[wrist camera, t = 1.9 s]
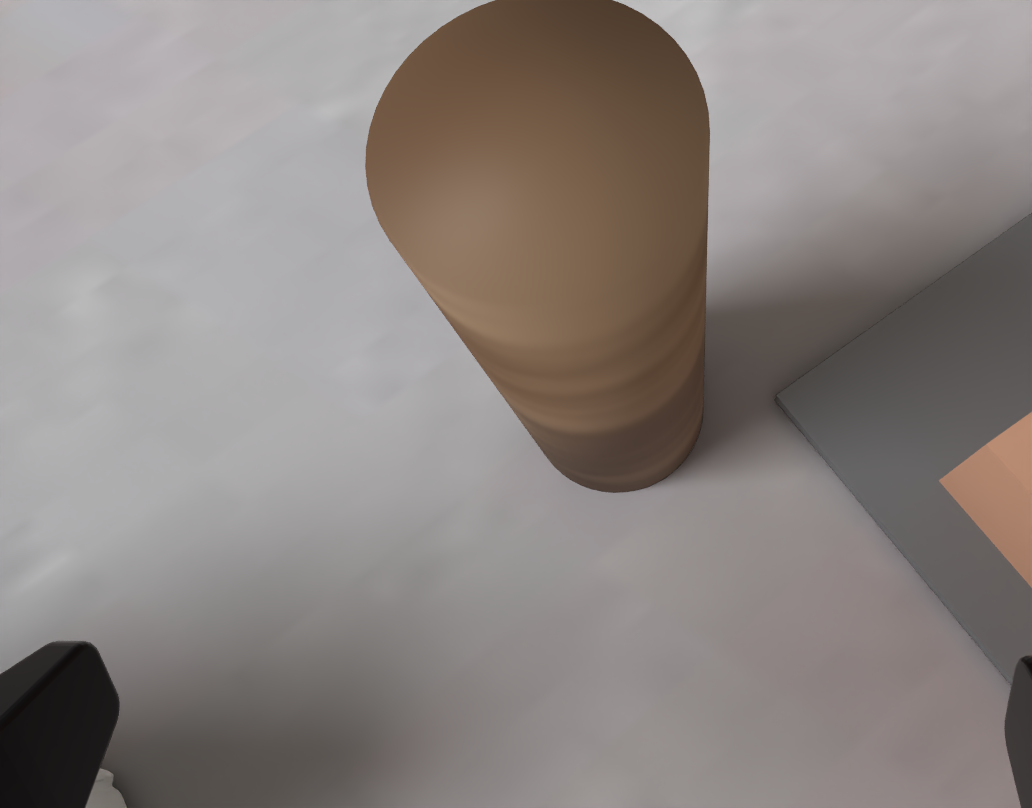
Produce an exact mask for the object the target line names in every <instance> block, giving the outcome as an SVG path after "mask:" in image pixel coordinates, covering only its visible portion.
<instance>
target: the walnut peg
mask: <svg viewBox="0 0 1032 808" xmlns="http://www.w3.org/2000/svg"><path fill="white" fill-rule="evenodd" d="M709 145H710V128H709V113H708V107H707V103H706V98H705V94H704V90H703V88H702V85H701V82H700V80H699V77H698V75H697V72H696V71H695V69H694V67H693V65H692V64H691V62H690V60H689V58H688V57H687V55H686V54H685V53H684V51H683V50H682V49H681V48H680V46H679V45H678V44H677V43H676V41H675V40H674V39H673V38H672V37H671V36H670V35H669V34H668V33H667V32H666V31H664V30H663V29H662V28H661V27H660V26H659V25H658V24H656V23H655V22H653V21H652V20H651V19H649V18H648V17H646V16H645V15H643V14H642V13H640V12H638V11H636V10H634V9H632V8H630V7H628V6H626V5H624V4H621V3H619V2H616V1H613V0H495V1H492V2H489V3H487V4H484V5H481V6H478V7H476V8H474V9H472V10H470V11H468V12H466V13H464V14H462V15H460V16H458V17H456V18H455V19H453V20H452V21H450V22H449V23H447V24H445V25H444V26H442V27H441V28H439V29H438V30H437V31H436V32H434V33H433V34H432V35H431V36H429V37H428V38H427V39H426V40H424V41H423V42H422V43H421V44H420V45H419V46H418V47H417V48H416V49H415V50H414V51H413V52H412V53H411V54H410V55H409V56H408V57H407V59H406V60H405V61H404V62H403V64H402V65H401V66H400V67H399V69H398V70H397V71H396V72H395V74H394V76H393V77H392V79H391V80H390V82H389V84H388V85H387V87H386V88H385V90H384V92H383V94H382V97H381V99H380V101H379V103H378V105H377V107H376V110H375V113H374V116H373V119H372V122H371V126H370V129H369V135H368V141H367V146H366V166H365V167H366V177H367V187H368V191H369V195H370V199H371V203H372V206H373V209H374V211H375V214H376V216H377V218H378V221H379V223H380V225H381V227H382V228H383V230H384V232H385V233H386V235H387V237H388V238H389V240H390V241H391V243H392V244H393V246H394V247H395V248H396V250H397V251H398V253H399V254H400V255H401V257H402V258H403V259H404V261H405V262H406V264H407V265H408V266H409V268H410V269H411V270H412V272H413V273H414V275H415V276H416V277H417V279H418V280H419V282H420V283H421V284H422V286H423V287H424V288H425V290H426V291H427V293H428V294H429V295H430V297H431V298H432V299H433V301H434V302H435V304H436V305H437V306H438V308H439V309H440V310H441V312H442V313H443V315H444V316H445V317H446V319H447V320H448V322H449V323H450V324H451V326H452V327H453V328H454V330H455V331H456V333H457V334H458V335H459V337H460V338H461V339H462V341H463V342H464V344H465V345H466V346H467V348H468V349H469V351H470V352H471V353H472V355H473V356H474V357H475V359H476V360H477V362H478V363H479V364H480V366H481V367H482V368H483V370H484V371H485V373H486V374H487V375H488V377H489V378H490V380H491V381H492V382H493V384H494V385H495V386H496V388H497V389H498V391H499V392H500V393H501V395H502V396H503V397H504V399H505V400H506V402H507V403H508V404H509V406H510V407H511V408H512V410H513V411H514V413H515V414H516V415H517V417H518V418H519V420H520V421H521V422H522V424H523V425H524V426H525V428H526V429H527V431H528V432H529V433H530V435H531V436H532V437H533V439H534V440H535V442H536V443H537V444H538V446H539V447H540V449H541V450H542V451H543V453H544V454H545V455H546V457H547V458H548V459H549V461H550V462H551V463H552V464H553V465H554V467H555V468H557V469H558V470H559V471H560V472H561V473H562V474H563V475H565V476H566V477H568V478H569V479H570V480H572V481H574V482H576V483H578V484H580V485H582V486H584V487H587V488H590V489H593V490H598V491H602V492H613V493H616V492H629V491H635V490H639V489H642V488H646V487H648V486H651V485H653V484H655V483H657V482H659V481H661V480H662V479H664V478H666V477H667V476H669V475H670V474H671V473H672V472H673V471H675V470H676V469H677V468H678V467H679V466H680V465H681V464H682V463H683V462H684V460H685V459H686V458H687V456H688V455H689V453H690V452H691V450H692V449H693V447H694V445H695V443H696V441H697V438H698V435H699V433H700V429H701V424H702V419H703V399H704V357H705V314H706V272H707V230H708V187H709Z"/></svg>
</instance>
